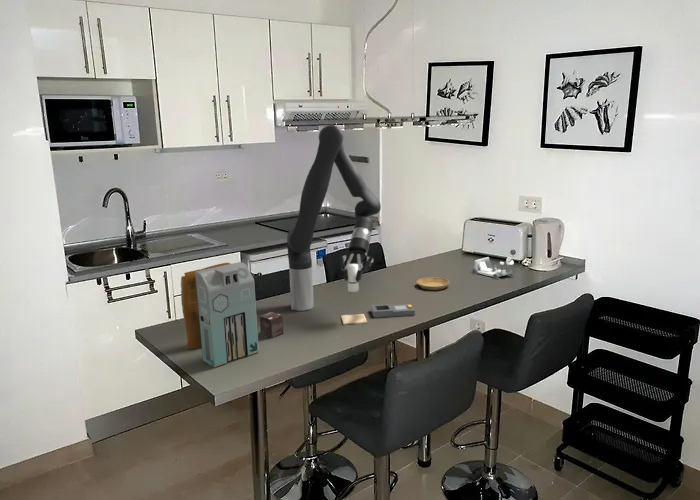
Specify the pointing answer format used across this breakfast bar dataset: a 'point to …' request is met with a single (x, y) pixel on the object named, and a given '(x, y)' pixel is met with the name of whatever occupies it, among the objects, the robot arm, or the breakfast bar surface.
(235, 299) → the device
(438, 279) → the plant saucer
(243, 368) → the breakfast bar surface
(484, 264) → the white wheeled toy
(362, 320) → the cork coaster
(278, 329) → the box
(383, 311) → the grey charging base
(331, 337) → the breakfast bar surface
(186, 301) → the pancake mix bag
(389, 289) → the breakfast bar surface
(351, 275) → the plug
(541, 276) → the breakfast bar surface
